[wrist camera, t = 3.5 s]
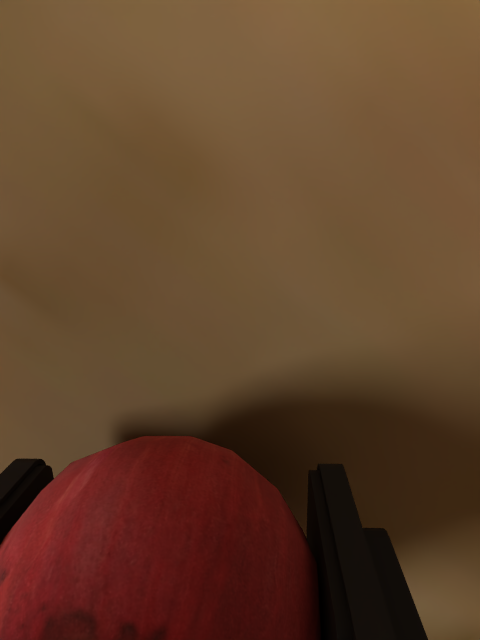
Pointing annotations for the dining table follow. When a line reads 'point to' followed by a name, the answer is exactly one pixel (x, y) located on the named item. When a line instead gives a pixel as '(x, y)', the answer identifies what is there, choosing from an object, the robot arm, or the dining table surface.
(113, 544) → the onion
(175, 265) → the dining table surface
